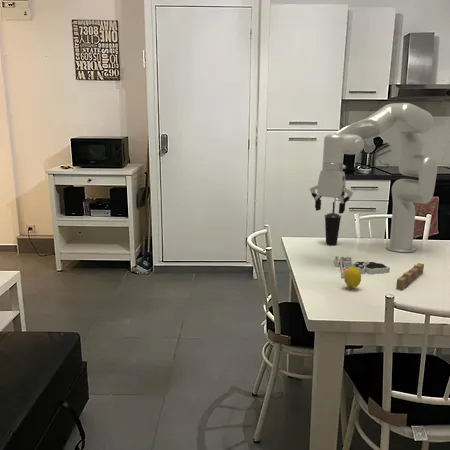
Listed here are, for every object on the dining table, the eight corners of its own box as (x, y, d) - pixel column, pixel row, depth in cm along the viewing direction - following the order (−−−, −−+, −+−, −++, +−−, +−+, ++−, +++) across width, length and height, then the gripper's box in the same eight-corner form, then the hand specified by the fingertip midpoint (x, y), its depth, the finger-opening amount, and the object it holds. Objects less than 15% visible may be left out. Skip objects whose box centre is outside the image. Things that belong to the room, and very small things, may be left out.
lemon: (357, 292, 153) (359, 269, 152) (341, 289, 156) (342, 267, 154) (362, 287, 158) (363, 265, 156) (346, 284, 161) (347, 262, 159)
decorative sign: (334, 256, 188) (386, 259, 184) (334, 262, 189) (385, 265, 185) (336, 273, 167) (394, 276, 163) (336, 279, 168) (393, 283, 164)
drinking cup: (341, 246, 211) (344, 203, 207) (324, 246, 211) (327, 203, 207) (337, 242, 218) (340, 200, 214) (321, 242, 218) (323, 200, 214)
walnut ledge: (417, 271, 175) (418, 261, 174) (423, 273, 174) (424, 262, 173) (396, 289, 156) (397, 277, 156) (402, 290, 155) (403, 278, 154)
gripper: (358, 168, 173) (354, 213, 177) (316, 165, 183) (313, 207, 187) (350, 169, 167) (346, 215, 171) (307, 166, 177) (305, 210, 181)
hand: (329, 211), depth 179 cm, fingers open, 9 cm apart
